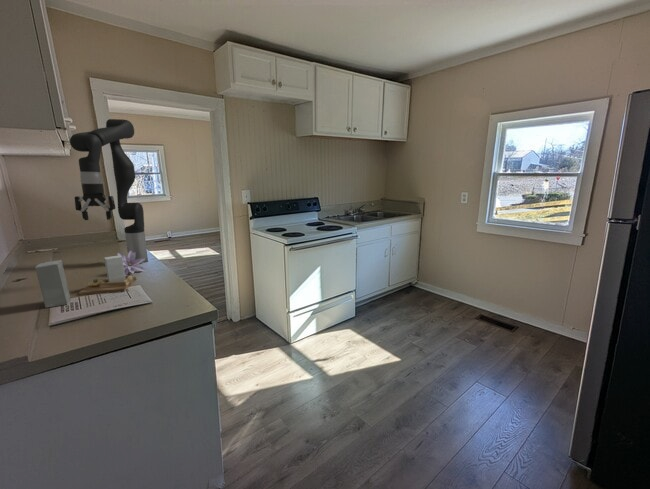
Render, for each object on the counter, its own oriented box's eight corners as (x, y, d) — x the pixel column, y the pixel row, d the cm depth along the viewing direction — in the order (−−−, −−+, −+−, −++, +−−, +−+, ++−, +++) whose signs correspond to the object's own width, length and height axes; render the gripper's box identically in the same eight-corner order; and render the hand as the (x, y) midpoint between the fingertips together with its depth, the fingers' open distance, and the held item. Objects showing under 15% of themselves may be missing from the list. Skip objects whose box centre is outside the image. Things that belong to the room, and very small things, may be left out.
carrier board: (96, 282, 137) (95, 275, 136) (136, 279, 141) (135, 273, 141) (79, 295, 122) (77, 287, 121) (124, 291, 126) (123, 284, 126)
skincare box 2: (124, 280, 136) (120, 255, 133) (126, 283, 133) (122, 256, 130) (107, 283, 132) (103, 257, 129) (109, 286, 129) (105, 259, 126)
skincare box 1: (67, 304, 113) (60, 264, 109) (42, 309, 109) (33, 266, 106) (71, 297, 120) (64, 258, 116) (47, 301, 116) (39, 261, 113)
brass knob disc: (91, 283, 132) (90, 278, 131) (105, 282, 133) (104, 277, 133) (86, 287, 127) (85, 281, 127) (100, 286, 128) (99, 281, 128)
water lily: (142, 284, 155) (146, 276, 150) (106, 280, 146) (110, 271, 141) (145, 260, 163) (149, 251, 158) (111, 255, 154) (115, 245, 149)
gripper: (114, 182, 137) (119, 218, 140) (77, 182, 133) (82, 219, 136) (107, 182, 130) (112, 220, 133) (68, 182, 126) (74, 221, 129)
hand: (97, 219), depth 135 cm, fingers open, 8 cm apart
